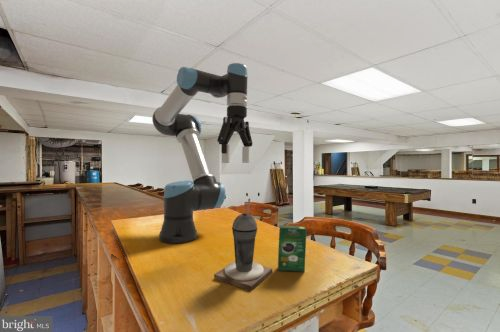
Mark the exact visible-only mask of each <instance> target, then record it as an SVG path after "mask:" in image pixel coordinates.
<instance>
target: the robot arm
mask: <svg viewBox="0 0 500 332" xmlns="http://www.w3.org/2000/svg"><path fill="white" fill-rule="evenodd" d="M177 72H178V73H177V75H176V84H177V85H176V86H175V88H174V89H173V90H172V91H171V93H170V94H169V95H168V97H167V98H166V99H165V101H164V102H163V104H162V105H161V106H159V107H157V108H156V109H155V111H154V112H153V114H152V117H151V118H152V119H151V120H152V124H153V126H154V128H155V129H156V130H157V132H159V134H162V135H164V136H170V137H175V138H176V140H177V142H178V143H179V144H181V146H182V150H183V152H184V155H185V159H186V162H187V165H188V169H189V173H190V174H191V178H192V180H181V181H174V182H170V183H168V184H166V185H165V186H164V190H163V191H164V192H163V223H162V224H161V229H160V231H159V233H158V234H159V235H158V236H159V237H158V238H159V240H158V241H160V242H162V243H165V244H183V243H184V244H185V243H189V242H192V241H194V240H196V239H197V237H198V230H197V229H196V224H195V221H194V211H195V212H197V211H202V210H203V211H204V210H205V211H206V210H213V209H218V208H220V207H221V206H223V204H224V202H225V198H226V188H225V185H224V184H223V183H222V182H221V181H217V178H216V176H215V175H213V174H211V172H210V169H209V166H208V163H207V160H206V157H205V155H204V152H203V149H202V147H201V144H200V141H199V137H200V135H201V133H202V123H201V121H200V119H199V117H197V116H195V115H191V114H183V113H181V112H182V110H183V109H184V108H185V107H186V106H187V105H188V104H189V102H191V100H192V99H193V98H194V97H195V96H196V95H197V94H198V92H200V93H205V94H209V95H211V96H212V97H213V98H216V99H219V98H224V97H226V105H227V107H226V116H224V117H223V119H222V120H223V121H222V125H221V128H220V130H219V134H218V137H217V139H216V140H217V143H218V145H221V163H223V164H229V163H230V144H228V143H229V142H230V141H231V138H232V136H233V134H234V133H235V132H236V133H237V134H238V135H239V138H240V140H241V143H242V145H243V146H242V150H241V151H242V152H241V153H242V154H241V156H242V157H241V160H242V161H241V163H242V164H243V163H244V164H249V163H250V147H252V146H253V139H252V136H251V132H250V131H251V130H250V124H249V123H250V122H249V121H245V118H247V116H248V115H247V114H248V108H247V106H248V104H247V103H248V78H249V77H248V67H247V66H246V64H244V63H240V62H234V63H233V62H231V63H230V64H228V66H227V69H226V74H223V75H218V74H214V73H210V72H207V71H202V70H198V69H195V68H193V67H186V66H181V67H180V68H179V70H178V71H177Z"/></svg>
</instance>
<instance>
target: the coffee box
mask: <svg viewBox="0 0 500 332" xmlns="http://www.w3.org/2000/svg"><path fill="white" fill-rule="evenodd" d="M306 249H307V228H306V227H305V226H296V225H295V226H293V225H279V231H278V252H277V253H278V254H277V255H278V256H277V269H278V271H282V272H303V273H304V272H305V270H306Z"/></svg>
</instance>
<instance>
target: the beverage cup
mask: <svg viewBox="0 0 500 332" xmlns="http://www.w3.org/2000/svg"><path fill="white" fill-rule="evenodd" d="M247 200H248V201H247V207H246V213H241V214H239V215H238V216H236V217H235V218H234V220H233V223H232V226H231V229H232V236H233V245H234V262H235V263H236V270H237V271H239V272H249V271H251V270H252V264H253V262H254V255H255V244H256V236H257V232H258V225H257V221H256V219H255V218H254V217H253V216H252V214H251V215H250V214H249V211H250V204H251V198H248V199H247Z"/></svg>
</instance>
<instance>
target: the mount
mask: <svg viewBox="0 0 500 332" xmlns="http://www.w3.org/2000/svg"><path fill="white" fill-rule="evenodd" d="M272 273H273V268H271V267H267V266H263V265H262V264H260V263H258V262H255V261H253V264H252V270H251V271H249V272H239V271H237V270H236V263H235V261H232V262H230V263H228V264H227V265H226V266H225V267H224V268H222V269H220V270H219V271H217V272H216V273H214V275H213V279H214V280H216V281H220V282H223V283H226V284H229V285H232V286H236V287H239V288H242V289H244V290H248V291H250V292H251V291H254V290H255V288H257V287H258V286H259V285H260V284H261V283H263V282H264V281H265V280H266V279H267V278H268V277H269V276H270V275H272Z"/></svg>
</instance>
